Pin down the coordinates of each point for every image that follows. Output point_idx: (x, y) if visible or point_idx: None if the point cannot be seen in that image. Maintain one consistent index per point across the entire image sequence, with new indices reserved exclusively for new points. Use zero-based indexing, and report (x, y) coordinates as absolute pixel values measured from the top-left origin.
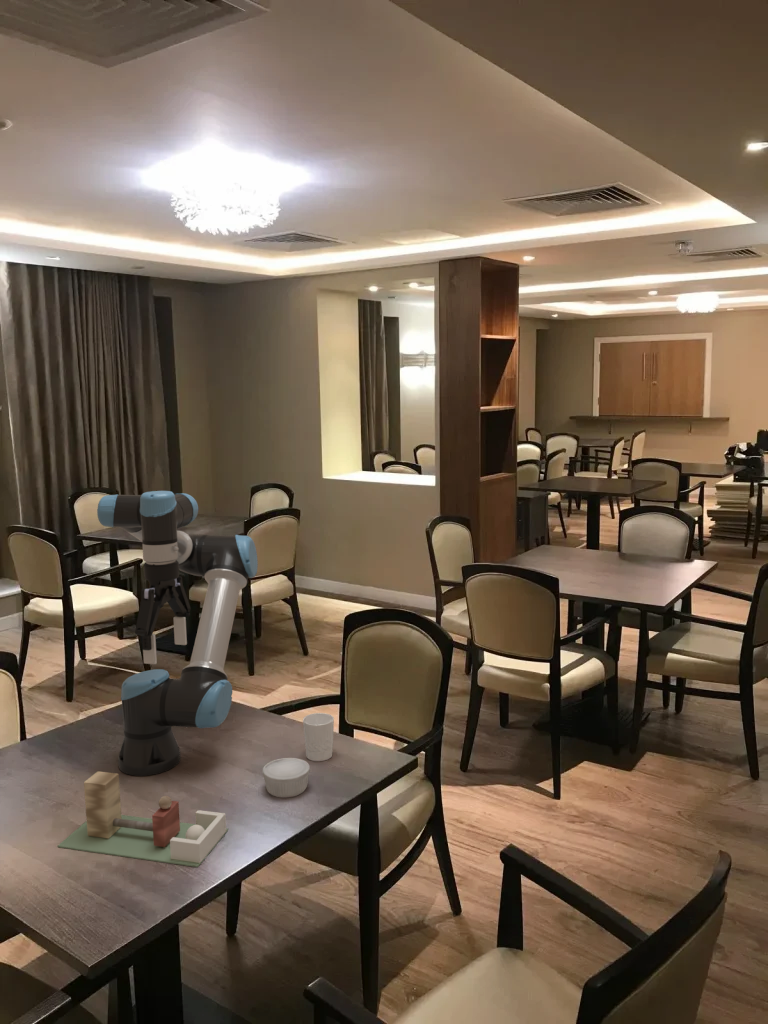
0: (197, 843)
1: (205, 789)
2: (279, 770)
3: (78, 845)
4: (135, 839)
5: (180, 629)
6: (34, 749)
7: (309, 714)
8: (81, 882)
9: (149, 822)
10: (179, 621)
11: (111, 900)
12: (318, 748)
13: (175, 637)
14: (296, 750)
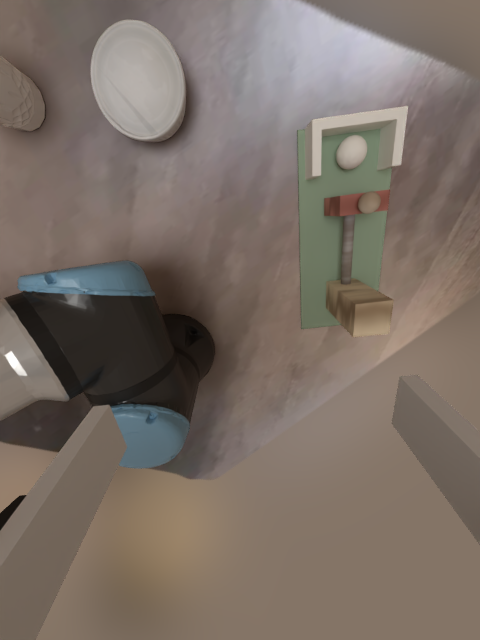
0: (406, 110)
1: (208, 237)
2: (152, 93)
3: None
4: None
5: (66, 508)
6: (205, 462)
7: None
8: (437, 250)
9: (309, 255)
10: (21, 591)
11: (471, 189)
12: (19, 75)
13: (109, 476)
14: (31, 161)
